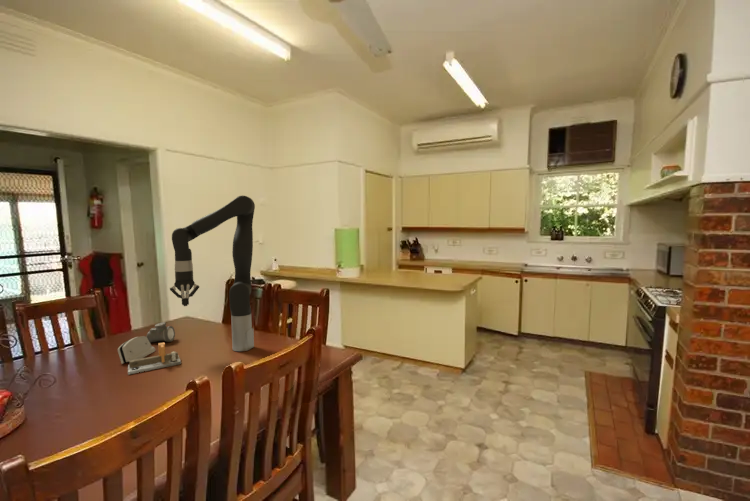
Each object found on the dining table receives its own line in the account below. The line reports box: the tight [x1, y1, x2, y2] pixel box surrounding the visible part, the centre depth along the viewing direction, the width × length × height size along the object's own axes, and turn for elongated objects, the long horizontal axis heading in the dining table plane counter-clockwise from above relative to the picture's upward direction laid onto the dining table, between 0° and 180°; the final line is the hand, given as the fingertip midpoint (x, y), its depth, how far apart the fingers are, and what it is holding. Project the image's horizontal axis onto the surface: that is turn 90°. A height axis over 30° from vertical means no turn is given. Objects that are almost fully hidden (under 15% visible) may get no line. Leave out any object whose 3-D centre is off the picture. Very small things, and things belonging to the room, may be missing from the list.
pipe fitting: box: [146, 321, 176, 343], centre depth 182 cm, size 12×8×10 cm
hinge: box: [117, 335, 157, 365], centre depth 161 cm, size 17×5×10 cm, turn 0°
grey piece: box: [127, 351, 182, 376], centre depth 150 cm, size 19×9×5 cm, turn 125°
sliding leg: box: [157, 341, 167, 363], centre depth 152 cm, size 2×7×7 cm, turn 35°
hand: (185, 305), depth 165 cm, fingers closed
